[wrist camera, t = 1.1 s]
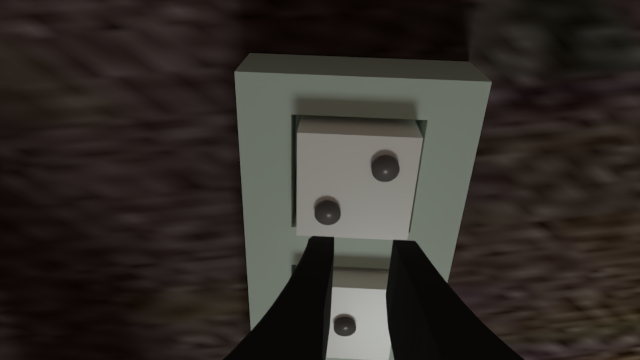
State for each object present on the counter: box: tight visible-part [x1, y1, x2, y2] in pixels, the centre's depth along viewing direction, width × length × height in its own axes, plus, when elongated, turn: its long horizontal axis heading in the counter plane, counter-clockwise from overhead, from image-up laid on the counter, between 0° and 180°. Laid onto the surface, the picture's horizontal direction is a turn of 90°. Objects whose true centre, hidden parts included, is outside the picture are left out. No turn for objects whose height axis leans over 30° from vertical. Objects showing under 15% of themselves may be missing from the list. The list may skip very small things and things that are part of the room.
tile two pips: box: [296, 115, 423, 240], centre depth 17 cm, size 4×4×2 cm
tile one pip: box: [326, 266, 391, 360], centre depth 20 cm, size 4×4×2 cm
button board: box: [234, 53, 492, 360], centre depth 22 cm, size 9×22×3 cm, turn 178°
